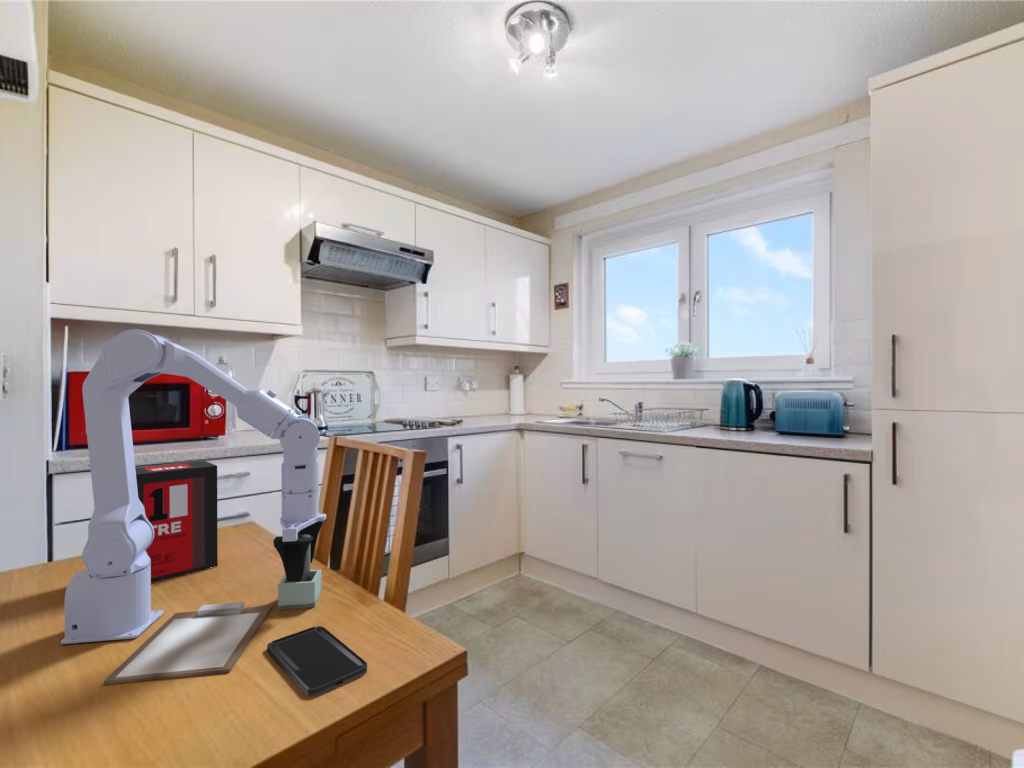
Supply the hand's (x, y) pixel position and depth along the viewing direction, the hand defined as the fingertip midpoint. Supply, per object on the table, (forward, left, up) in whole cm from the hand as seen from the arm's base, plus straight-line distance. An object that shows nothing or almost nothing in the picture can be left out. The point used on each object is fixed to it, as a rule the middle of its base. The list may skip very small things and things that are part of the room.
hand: (300, 571), depth 83 cm
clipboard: (-11, -11, -5) cm, 16 cm away
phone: (+6, -19, -6) cm, 21 cm away
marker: (0, 0, -4) cm, 4 cm away
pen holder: (0, 0, -5) cm, 5 cm away
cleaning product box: (-29, +18, -5) cm, 35 cm away
